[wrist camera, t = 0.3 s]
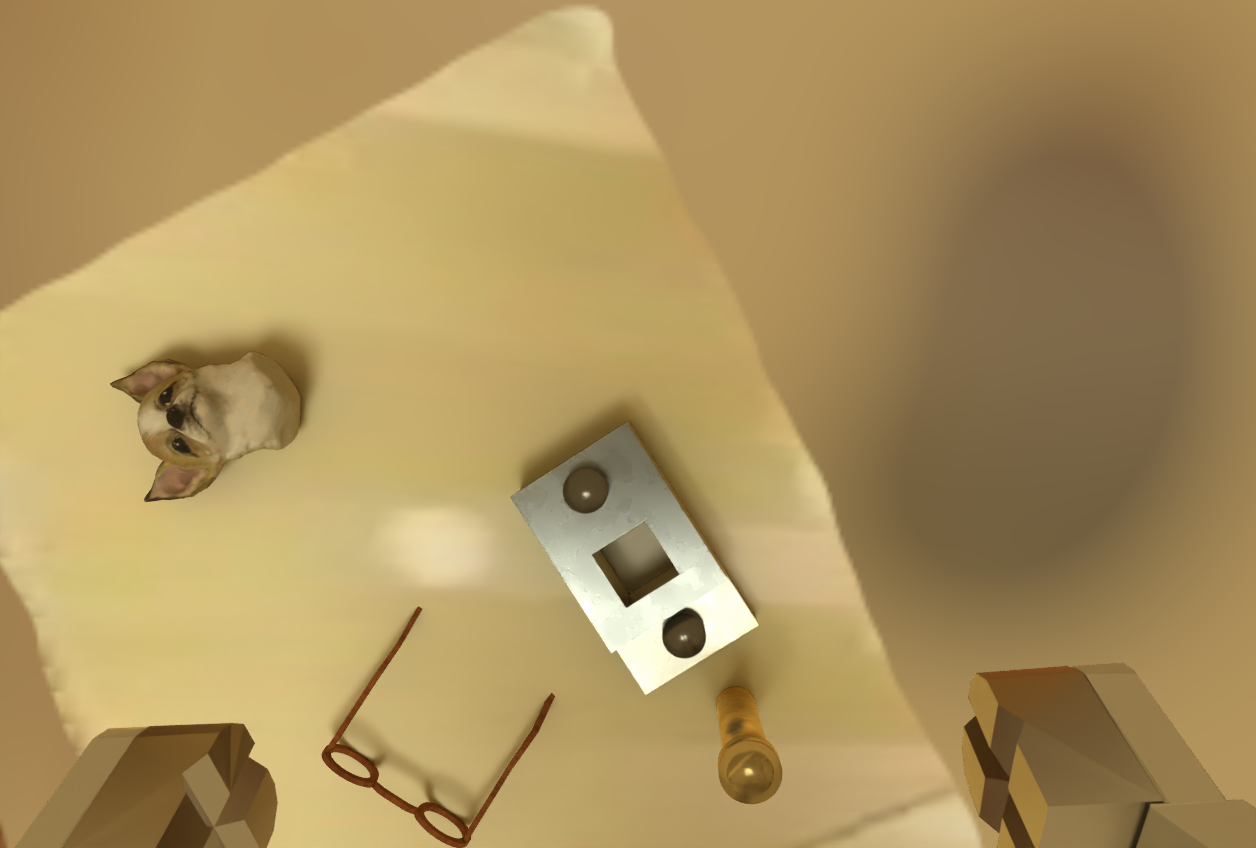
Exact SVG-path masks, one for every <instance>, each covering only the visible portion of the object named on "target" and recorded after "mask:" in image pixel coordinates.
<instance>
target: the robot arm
mask: <svg viewBox="0 0 1256 848" xmlns="http://www.w3.org/2000/svg"><path fill="white" fill-rule="evenodd" d="M968 699H969V701H970V704H971V706H972V708H973V711H974V713H975V715H976V716H975V717H974V718H973V719H971V720H970V721H969V722H968V723H967V724H966V725H965V726H964V731H963V741H962V753H963V762H964V771H965V776H966V779H967V783H968V787H969V791H970V794H971V797H972V799H973V802H974V805H975V807H976V810H977V813H978V815H979V817H980V818H981V819H983V820H984V821H985V822H986V823H987V824H988V825H990V826H991V827H992V828H993V829H995V830H996V831H997V832H998V833H999V840H998V845H997V848H1256V808H1255V807H1254V806H1252V805H1251V804H1249V803H1248V802H1246V801H1244V800H1226V799H1225V797H1224V796H1223V794H1222V793H1221V792H1220V790H1219V789H1218V787H1217V786H1216V785H1215V783H1214V782H1213V780H1212V779H1211V777H1210V776H1209V775H1208V773H1207V772H1206V770H1205V769H1204V768H1203V766H1202V765H1201V763H1200V762H1199V761H1198V759H1197V758H1196V756H1195V755H1194V754H1193V752H1192V751H1191V749H1190V748H1189V747H1188V745H1187V744H1186V742H1185V741H1184V740H1183V738H1182V737H1181V736H1180V734H1179V733H1178V731H1177V730H1176V728H1175V727H1174V726H1173V724H1172V723H1171V721H1170V720H1169V719H1168V717H1167V716H1166V714H1165V713H1164V712H1163V710H1162V709H1161V708H1160V706H1159V705H1158V703H1157V702H1156V700H1155V699H1154V698H1153V696H1152V695H1151V694H1150V692H1149V691H1148V689H1147V688H1146V686H1145V685H1144V684H1143V682H1142V681H1141V679H1140V678H1139V677H1138V675H1137V674H1136V672H1135V671H1134V670H1133V669H1132V668H1130V667H1129V666H1127V665H1126V664H1124V663H1111V664H1097V665H1082V666H1073V667H1068V666H1060V667H1048V668H1035V669H1022V670H1009V671H996V672H983V673H976V674H975V676H974V677H973V678H972V680H971V682H970V688H969V695H968ZM254 744H255V743H254V741H253V739H252V737H251V736H250V734H249V732H248V730H247V729H246V727H245V725H244V724H237V723H222V724H195V725H169V726H149V727H132V728H111V729H107V730H106V731H104V732H103V733H101V734H100V735H98V736H97V737H95V738H94V739H92V741H91V742H90V743H89V745H88V746H87V747H86V749H85V750H84V752H83V753H82V754H81V756H80V757H79V759H78V760H77V761H76V763H75V764H74V766H73V767H72V769H71V770H70V771H69V773H68V774H67V776H66V777H65V779H64V780H63V781H62V782H61V784H60V785H59V787H58V788H57V790H56V791H55V792H54V794H53V795H52V796H51V798H50V799H49V801H48V802H47V803H46V805H45V806H44V808H43V809H42V810H41V812H40V813H39V815H38V816H37V818H36V819H35V820H34V822H33V823H32V824H31V826H30V827H29V829H28V830H27V831H26V833H25V834H24V835H23V837H22V838H21V840H20V841H19V842H18V844H17V845H16V847H15V848H267V846H268V843H269V841H270V838H271V836H272V833H273V831H274V824H275V817H276V810H277V803H278V802H277V796H276V789H275V783H274V781H273V779H272V777H271V775H270V773H269V771H268V769H267V768H265V767H264V766H262V765H261V764H259V763H257V762H256V761H254V760H253V759H251V758H250V757H248V756H249V754H250V752H251V750H252V748H253V746H254Z"/></svg>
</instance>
